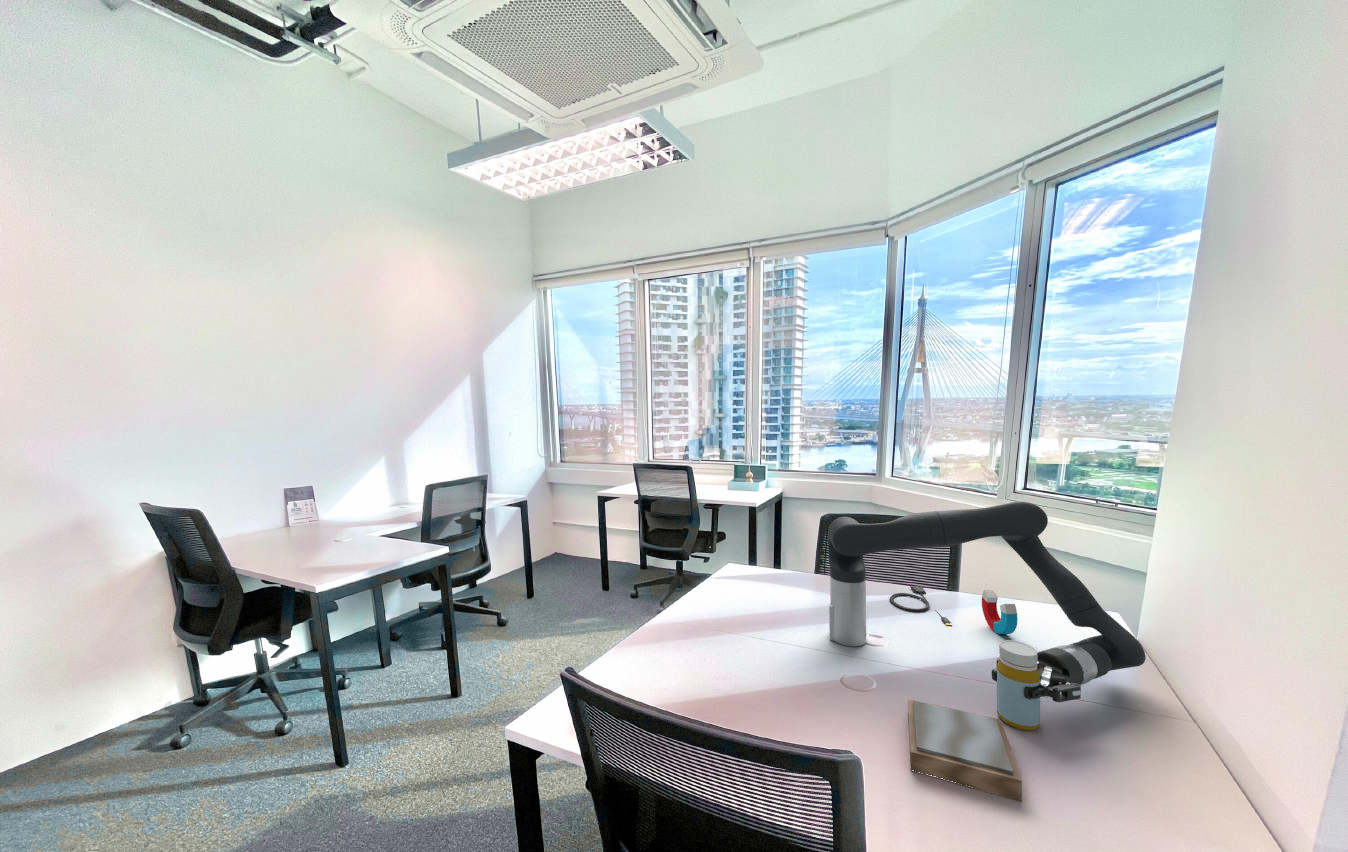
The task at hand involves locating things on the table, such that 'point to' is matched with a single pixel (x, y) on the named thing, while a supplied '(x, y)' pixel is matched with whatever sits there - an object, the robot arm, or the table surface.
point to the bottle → (1017, 685)
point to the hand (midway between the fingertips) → (1009, 684)
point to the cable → (919, 591)
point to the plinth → (962, 749)
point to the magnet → (992, 618)
